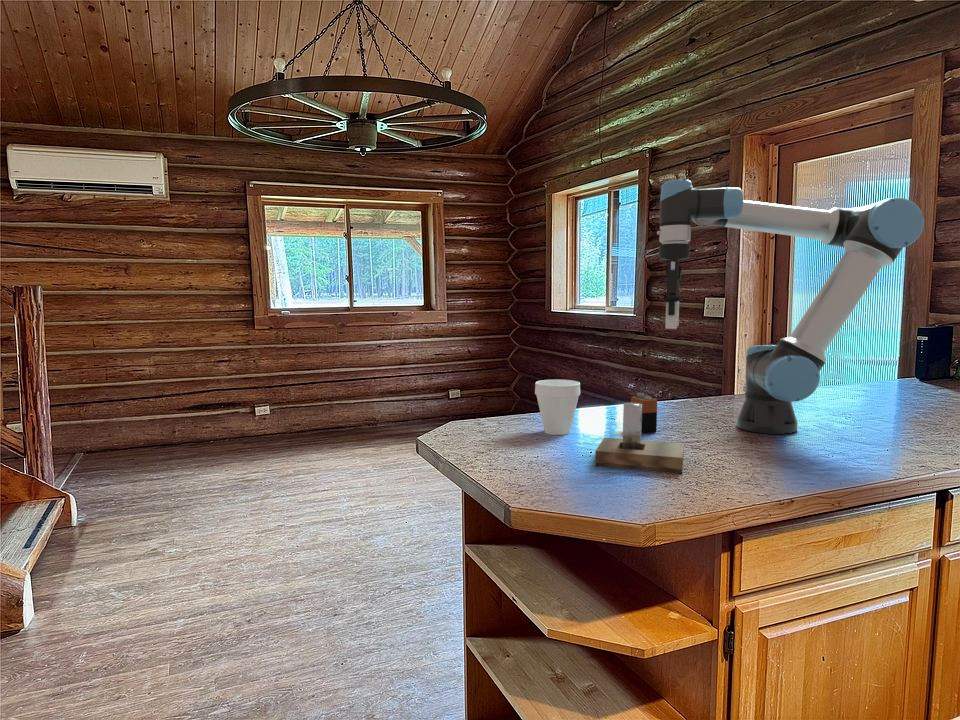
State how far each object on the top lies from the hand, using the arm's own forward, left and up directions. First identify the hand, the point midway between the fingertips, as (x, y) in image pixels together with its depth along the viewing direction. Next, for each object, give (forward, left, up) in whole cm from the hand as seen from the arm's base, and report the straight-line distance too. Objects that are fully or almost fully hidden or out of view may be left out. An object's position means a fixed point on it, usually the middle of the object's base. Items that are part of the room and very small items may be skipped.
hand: (672, 327), depth 157 cm
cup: (+29, +4, -29) cm, 41 cm away
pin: (+7, +27, -28) cm, 40 cm away
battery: (+7, -5, -29) cm, 30 cm away
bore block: (+5, +28, -29) cm, 40 cm away
